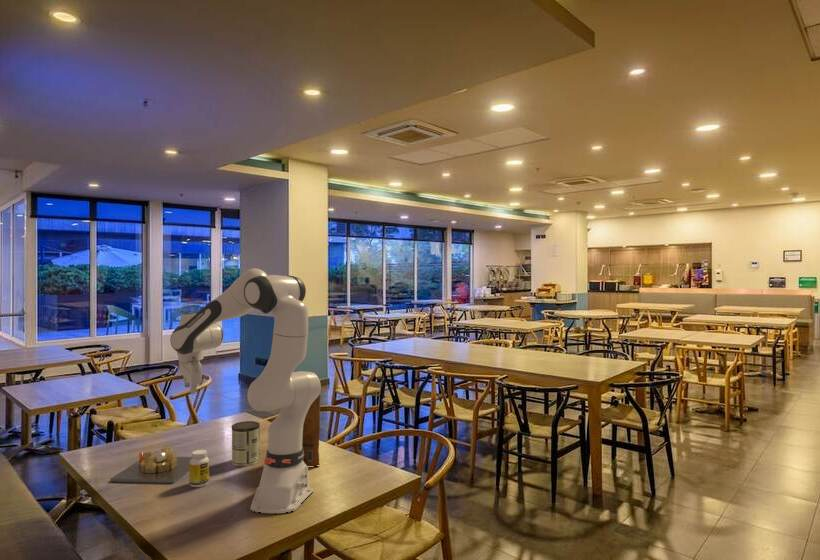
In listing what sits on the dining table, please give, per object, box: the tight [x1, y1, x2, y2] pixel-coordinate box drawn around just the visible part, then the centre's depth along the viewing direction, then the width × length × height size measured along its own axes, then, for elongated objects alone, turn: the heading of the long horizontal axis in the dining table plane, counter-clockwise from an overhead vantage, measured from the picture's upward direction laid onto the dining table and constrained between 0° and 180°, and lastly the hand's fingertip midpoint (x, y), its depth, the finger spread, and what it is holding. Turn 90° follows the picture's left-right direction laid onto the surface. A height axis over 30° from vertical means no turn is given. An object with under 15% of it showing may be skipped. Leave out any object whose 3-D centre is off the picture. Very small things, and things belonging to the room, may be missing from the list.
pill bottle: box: [188, 449, 210, 488], centre depth 173 cm, size 6×6×11 cm
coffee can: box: [231, 420, 261, 467], centre depth 195 cm, size 10×10×14 cm
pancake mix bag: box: [302, 394, 322, 466], centre depth 193 cm, size 7×19×28 cm, turn 57°
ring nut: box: [140, 445, 178, 473], centre depth 186 cm, size 14×12×5 cm
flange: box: [110, 450, 193, 485], centre depth 185 cm, size 22×22×6 cm
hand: (190, 390), depth 192 cm, fingers open, 8 cm apart
